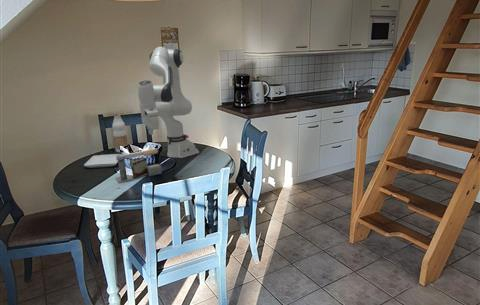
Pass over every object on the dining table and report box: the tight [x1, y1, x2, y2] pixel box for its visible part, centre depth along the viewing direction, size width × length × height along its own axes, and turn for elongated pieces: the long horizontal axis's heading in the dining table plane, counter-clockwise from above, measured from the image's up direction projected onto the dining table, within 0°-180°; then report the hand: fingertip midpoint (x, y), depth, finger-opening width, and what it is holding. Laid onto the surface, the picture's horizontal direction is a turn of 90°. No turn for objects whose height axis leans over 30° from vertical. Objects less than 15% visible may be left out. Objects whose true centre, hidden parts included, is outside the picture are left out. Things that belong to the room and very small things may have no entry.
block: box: [146, 163, 163, 177], centre depth 226 cm, size 8×5×5 cm, turn 120°
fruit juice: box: [111, 112, 129, 153], centre depth 272 cm, size 9×9×28 cm
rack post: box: [115, 159, 133, 184], centre depth 217 cm, size 8×8×13 cm
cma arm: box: [116, 148, 159, 160], centre depth 220 cm, size 24×6×2 cm, turn 121°
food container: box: [129, 156, 148, 179], centre depth 224 cm, size 12×6×10 cm, turn 149°
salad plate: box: [83, 153, 121, 169], centre depth 250 cm, size 21×21×3 cm
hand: (151, 134), depth 213 cm, fingers closed
